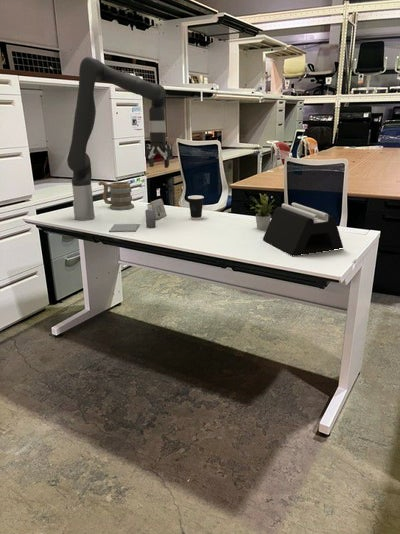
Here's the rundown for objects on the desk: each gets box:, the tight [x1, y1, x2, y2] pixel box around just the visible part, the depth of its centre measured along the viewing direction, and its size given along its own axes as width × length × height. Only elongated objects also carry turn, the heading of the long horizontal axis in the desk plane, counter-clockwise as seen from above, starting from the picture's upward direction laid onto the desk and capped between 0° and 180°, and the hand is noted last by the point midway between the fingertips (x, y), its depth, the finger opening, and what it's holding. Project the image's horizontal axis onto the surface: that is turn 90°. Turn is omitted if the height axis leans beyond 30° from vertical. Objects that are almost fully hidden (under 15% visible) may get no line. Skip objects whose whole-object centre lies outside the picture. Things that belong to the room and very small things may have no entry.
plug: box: [144, 205, 157, 229], centre depth 194 cm, size 4×4×10 cm
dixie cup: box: [187, 195, 205, 221], centre depth 208 cm, size 8×8×11 cm
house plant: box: [250, 193, 275, 231], centre depth 188 cm, size 14×14×16 cm
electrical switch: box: [146, 198, 167, 221], centre depth 212 cm, size 9×5×9 cm, turn 152°
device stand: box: [262, 202, 344, 257], centre depth 163 cm, size 22×22×15 cm
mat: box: [108, 223, 140, 233], centre depth 194 cm, size 12×12×1 cm
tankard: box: [98, 180, 135, 211], centre depth 236 cm, size 20×13×15 cm, turn 69°
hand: (159, 167), depth 197 cm, fingers open, 8 cm apart
